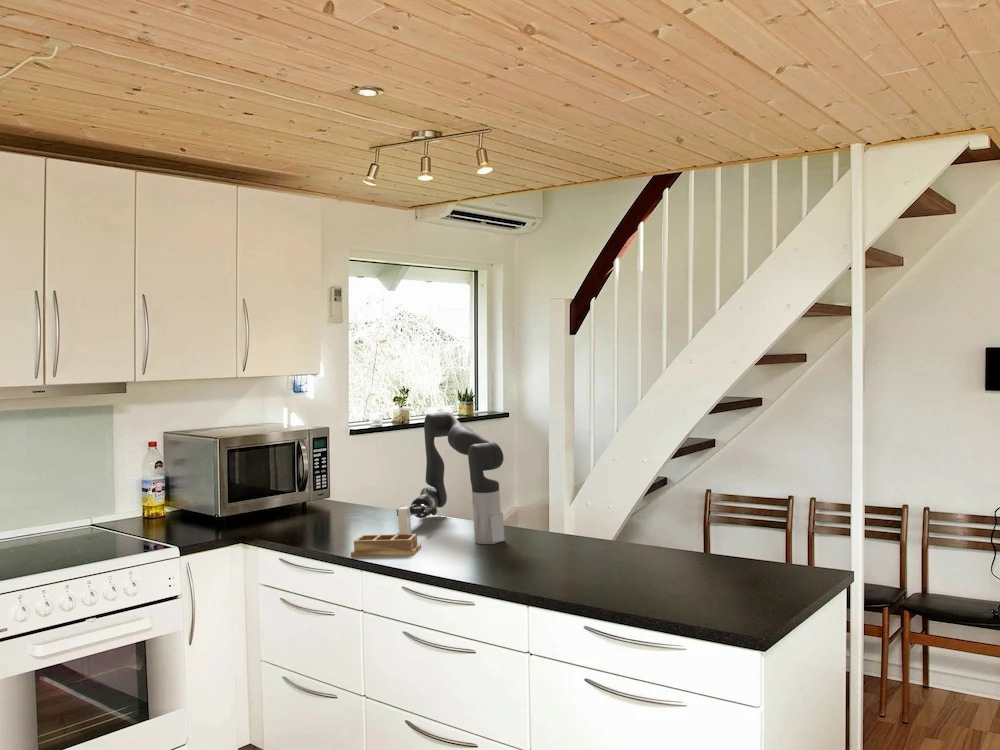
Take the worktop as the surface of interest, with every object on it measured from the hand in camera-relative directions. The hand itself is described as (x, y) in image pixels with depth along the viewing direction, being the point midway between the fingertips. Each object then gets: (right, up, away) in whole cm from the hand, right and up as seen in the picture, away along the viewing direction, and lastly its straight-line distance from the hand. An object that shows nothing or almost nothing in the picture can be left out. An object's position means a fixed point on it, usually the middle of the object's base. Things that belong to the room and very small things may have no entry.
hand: (412, 514), depth 306 cm
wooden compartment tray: (-6, -9, -22) cm, 25 cm away
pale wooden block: (-1, -8, -11) cm, 13 cm away
